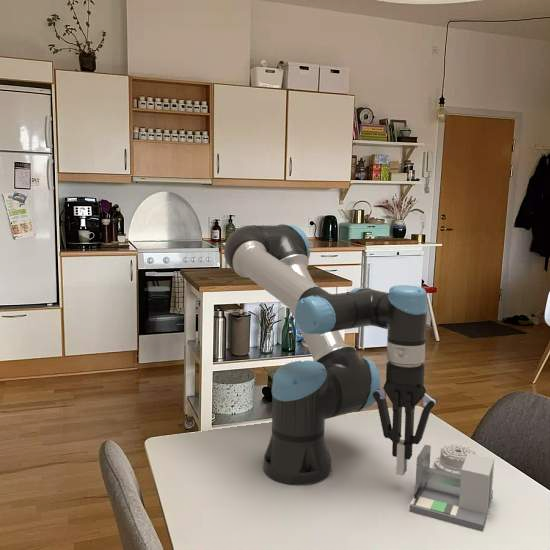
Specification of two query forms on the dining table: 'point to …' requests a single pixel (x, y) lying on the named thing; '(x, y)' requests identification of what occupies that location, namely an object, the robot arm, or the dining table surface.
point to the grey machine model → (431, 473)
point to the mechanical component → (452, 458)
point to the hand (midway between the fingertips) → (401, 471)
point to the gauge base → (450, 499)
